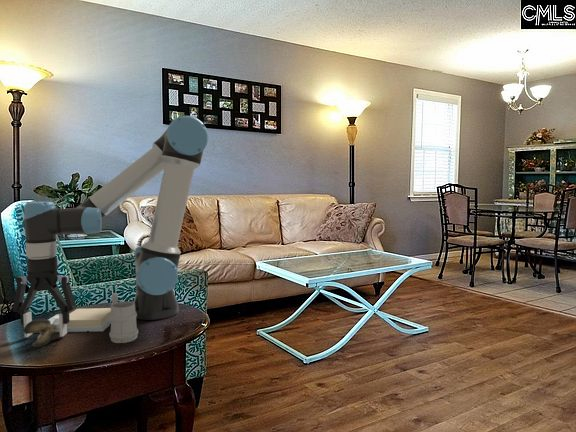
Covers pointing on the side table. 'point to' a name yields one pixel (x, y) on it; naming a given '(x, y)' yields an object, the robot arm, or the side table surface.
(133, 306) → the mug
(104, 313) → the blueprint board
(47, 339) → the eagle figurine
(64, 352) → the side table surface
